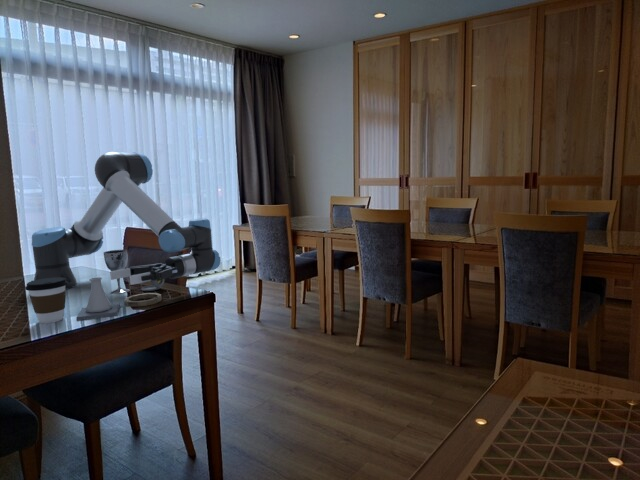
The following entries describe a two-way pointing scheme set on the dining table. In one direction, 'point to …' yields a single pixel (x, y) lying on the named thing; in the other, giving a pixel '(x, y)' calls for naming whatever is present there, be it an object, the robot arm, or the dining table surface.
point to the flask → (97, 297)
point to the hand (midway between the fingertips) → (120, 278)
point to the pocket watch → (154, 285)
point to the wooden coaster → (132, 303)
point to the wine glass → (116, 265)
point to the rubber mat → (98, 313)
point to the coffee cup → (48, 298)
